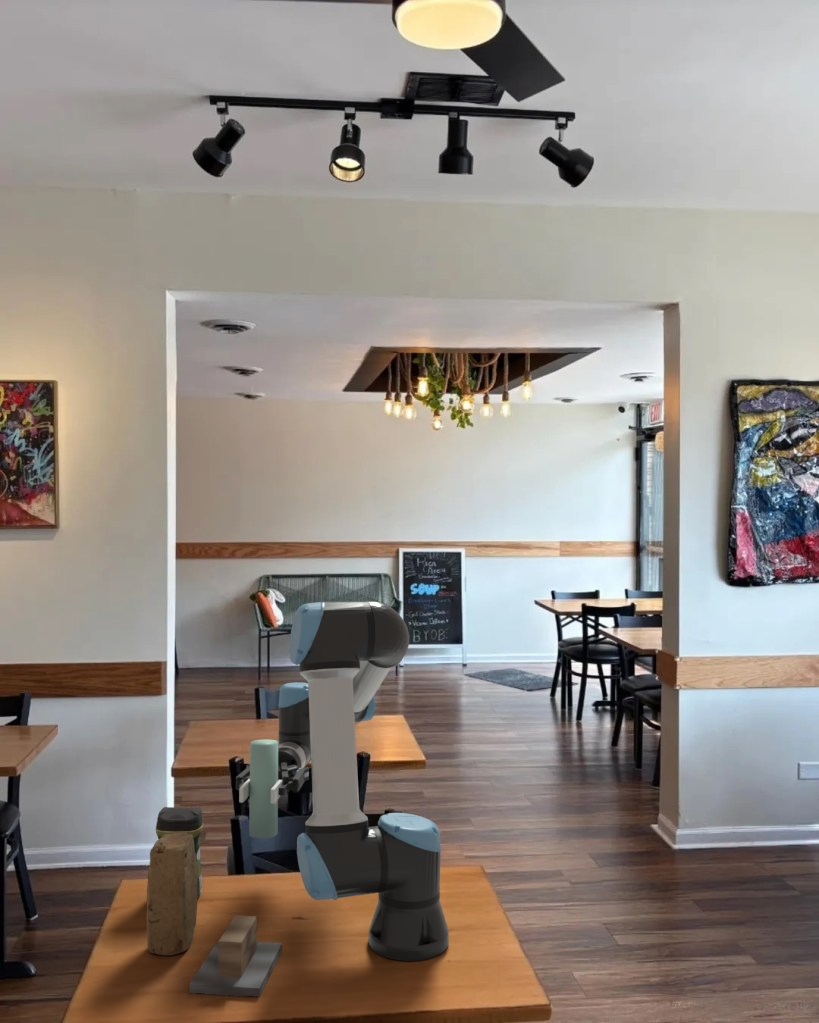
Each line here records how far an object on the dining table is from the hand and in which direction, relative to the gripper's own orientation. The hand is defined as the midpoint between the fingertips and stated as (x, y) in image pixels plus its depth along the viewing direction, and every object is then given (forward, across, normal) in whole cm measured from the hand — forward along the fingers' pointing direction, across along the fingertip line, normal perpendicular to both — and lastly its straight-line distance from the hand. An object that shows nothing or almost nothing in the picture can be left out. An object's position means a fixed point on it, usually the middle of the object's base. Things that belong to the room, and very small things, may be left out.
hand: (256, 795), depth 173 cm
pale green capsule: (-5, 0, -9) cm, 10 cm away
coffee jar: (-15, +21, -26) cm, 37 cm away
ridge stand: (+14, -1, -26) cm, 30 cm away
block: (+6, +14, -27) cm, 31 cm away
